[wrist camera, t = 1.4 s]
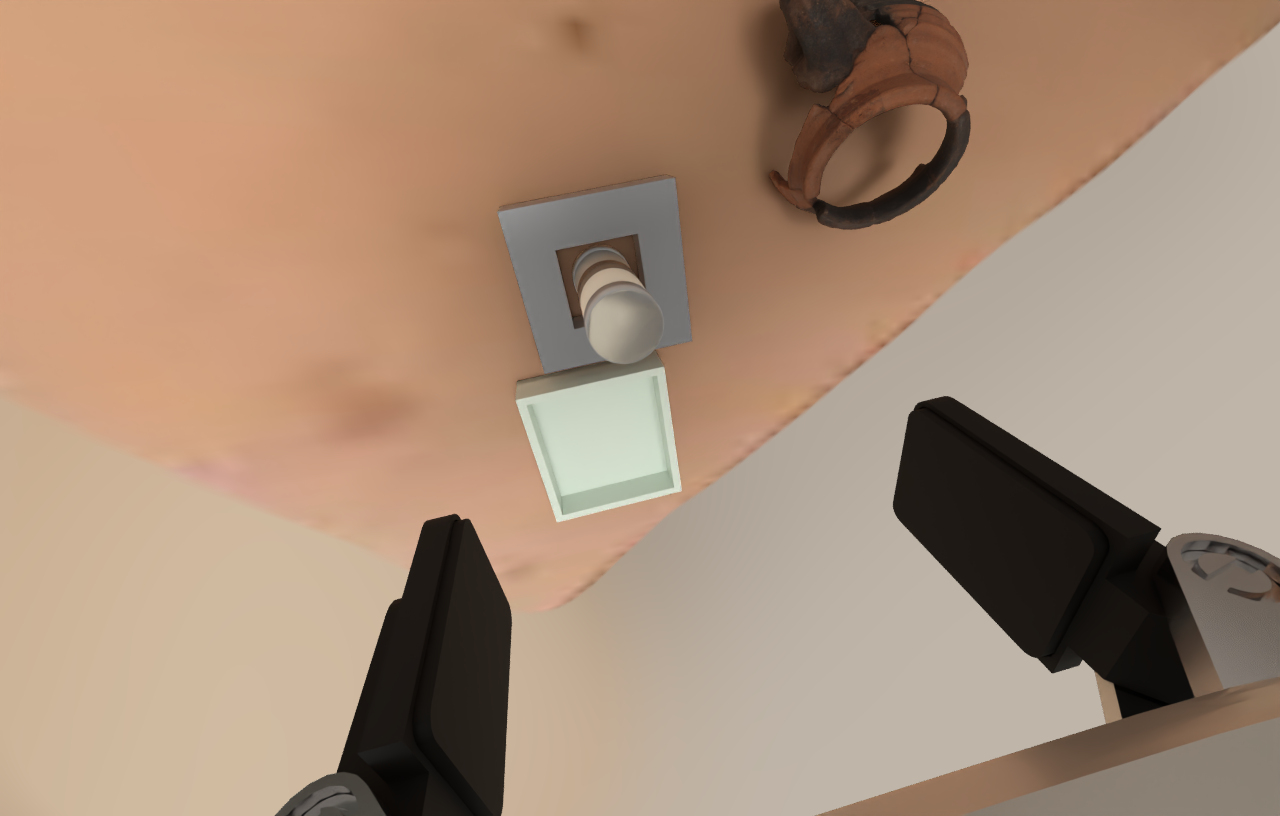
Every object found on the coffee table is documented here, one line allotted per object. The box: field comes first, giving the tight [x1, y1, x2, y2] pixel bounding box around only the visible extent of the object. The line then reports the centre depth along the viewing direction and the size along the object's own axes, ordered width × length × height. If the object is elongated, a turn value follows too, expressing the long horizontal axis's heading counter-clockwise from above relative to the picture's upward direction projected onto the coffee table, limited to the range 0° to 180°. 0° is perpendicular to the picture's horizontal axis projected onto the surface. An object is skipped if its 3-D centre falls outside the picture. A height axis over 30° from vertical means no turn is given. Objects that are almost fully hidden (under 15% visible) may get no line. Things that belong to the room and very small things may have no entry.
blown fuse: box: [572, 245, 664, 364], centre depth 24 cm, size 3×3×9 cm
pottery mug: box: [769, 0, 971, 230], centre depth 23 cm, size 12×9×8 cm
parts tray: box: [516, 350, 682, 522], centre depth 32 cm, size 9×10×2 cm
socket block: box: [497, 175, 692, 374], centre depth 27 cm, size 9×9×2 cm
